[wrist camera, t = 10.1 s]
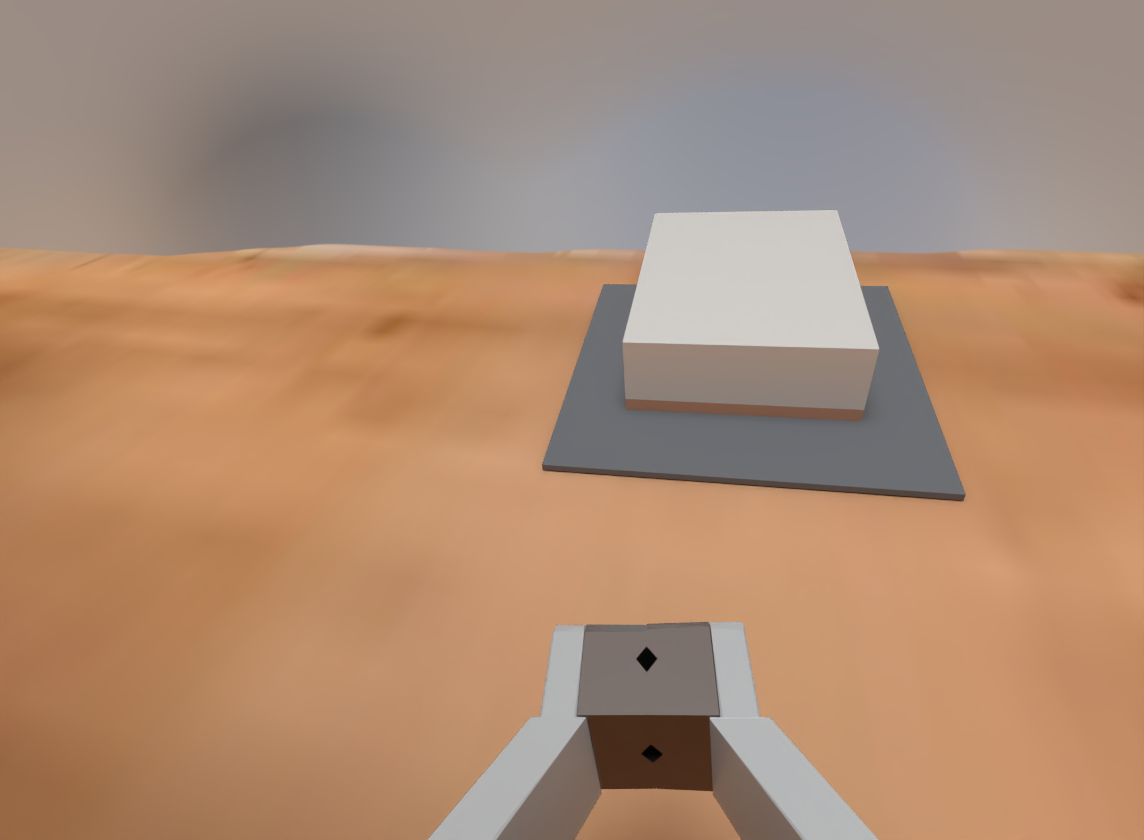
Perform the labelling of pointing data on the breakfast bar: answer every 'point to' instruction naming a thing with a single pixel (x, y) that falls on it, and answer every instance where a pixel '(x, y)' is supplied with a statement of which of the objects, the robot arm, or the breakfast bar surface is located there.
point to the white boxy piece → (749, 318)
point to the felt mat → (756, 425)
